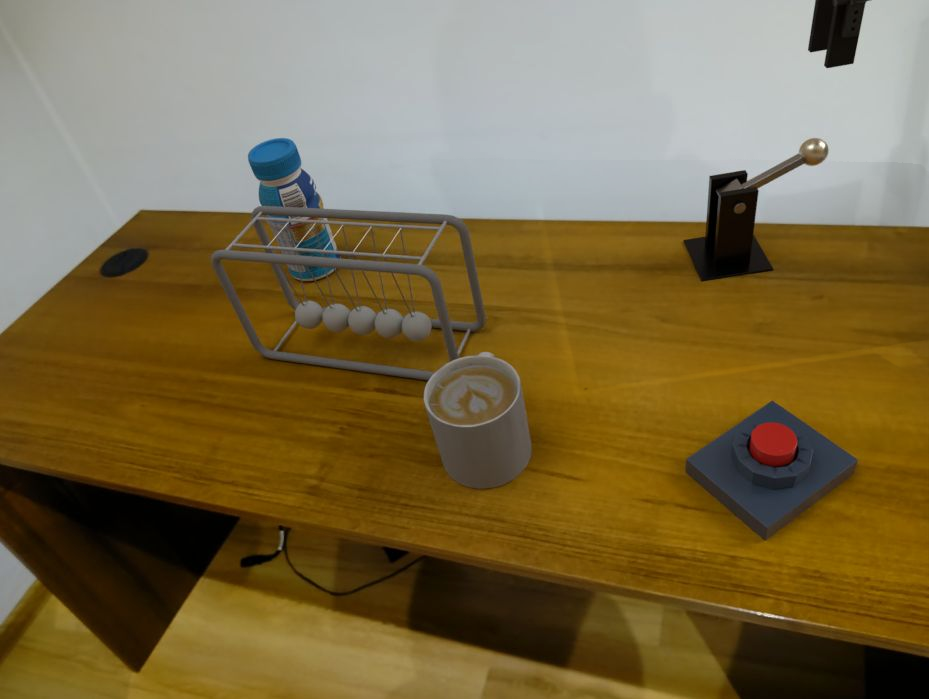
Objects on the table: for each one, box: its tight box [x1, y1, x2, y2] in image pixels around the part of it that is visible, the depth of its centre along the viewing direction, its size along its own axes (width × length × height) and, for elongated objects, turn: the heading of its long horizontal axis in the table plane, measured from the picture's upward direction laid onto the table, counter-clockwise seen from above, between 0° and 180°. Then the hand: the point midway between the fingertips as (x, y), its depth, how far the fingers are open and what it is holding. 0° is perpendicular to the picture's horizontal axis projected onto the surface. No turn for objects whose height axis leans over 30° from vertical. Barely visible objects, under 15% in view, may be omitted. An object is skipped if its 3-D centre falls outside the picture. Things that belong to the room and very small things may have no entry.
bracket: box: [683, 169, 774, 282], centre depth 91 cm, size 9×9×12 cm
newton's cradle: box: [210, 205, 487, 382], centre depth 89 cm, size 30×10×18 cm, turn 71°
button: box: [750, 423, 797, 467], centre depth 68 cm, size 4×4×2 cm
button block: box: [684, 400, 859, 542], centre depth 69 cm, size 12×10×4 cm
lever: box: [716, 137, 830, 196], centre depth 87 cm, size 13×3×3 cm, turn 92°
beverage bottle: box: [247, 137, 342, 282], centre depth 104 cm, size 8×8×20 cm
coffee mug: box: [423, 351, 533, 490], centre depth 76 cm, size 13×10×10 cm
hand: (830, 56), depth 77 cm, fingers open, 4 cm apart
